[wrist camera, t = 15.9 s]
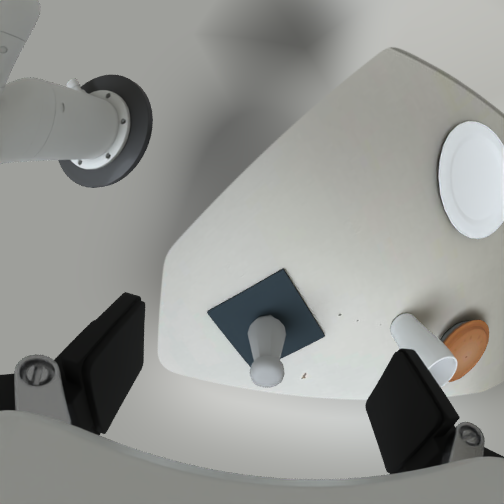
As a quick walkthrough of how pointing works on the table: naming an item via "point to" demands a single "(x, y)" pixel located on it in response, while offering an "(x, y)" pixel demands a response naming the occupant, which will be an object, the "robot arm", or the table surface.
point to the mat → (267, 303)
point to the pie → (466, 344)
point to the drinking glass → (424, 347)
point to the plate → (472, 179)
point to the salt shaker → (266, 351)
